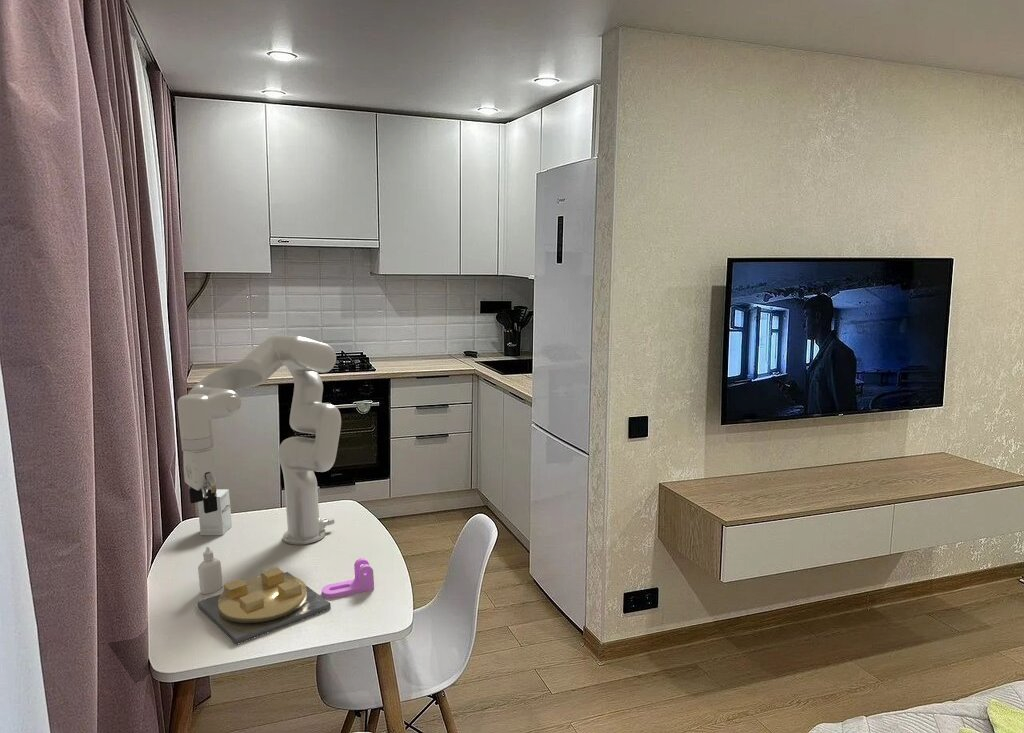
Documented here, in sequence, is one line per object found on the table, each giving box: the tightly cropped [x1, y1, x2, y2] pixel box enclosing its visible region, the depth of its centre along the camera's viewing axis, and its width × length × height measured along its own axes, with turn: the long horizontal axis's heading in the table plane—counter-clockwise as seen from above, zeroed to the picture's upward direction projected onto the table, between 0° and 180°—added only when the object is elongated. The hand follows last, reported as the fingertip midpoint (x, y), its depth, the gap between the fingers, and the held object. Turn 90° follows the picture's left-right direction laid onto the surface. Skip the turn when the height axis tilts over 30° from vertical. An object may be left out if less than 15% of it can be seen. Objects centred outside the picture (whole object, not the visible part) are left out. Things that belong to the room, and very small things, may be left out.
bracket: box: [321, 557, 375, 599], centre depth 197 cm, size 13×6×7 cm, turn 114°
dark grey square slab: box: [197, 571, 332, 645], centre depth 189 cm, size 24×24×2 cm
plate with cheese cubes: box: [218, 566, 307, 623], centre depth 188 cm, size 21×21×4 cm
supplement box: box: [197, 488, 233, 536], centre depth 237 cm, size 7×7×13 cm
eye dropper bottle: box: [197, 546, 224, 595], centre depth 198 cm, size 4×6×12 cm
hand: (203, 506), depth 194 cm, fingers open, 9 cm apart
